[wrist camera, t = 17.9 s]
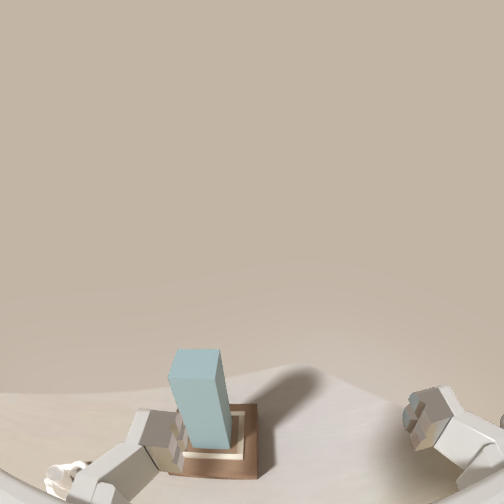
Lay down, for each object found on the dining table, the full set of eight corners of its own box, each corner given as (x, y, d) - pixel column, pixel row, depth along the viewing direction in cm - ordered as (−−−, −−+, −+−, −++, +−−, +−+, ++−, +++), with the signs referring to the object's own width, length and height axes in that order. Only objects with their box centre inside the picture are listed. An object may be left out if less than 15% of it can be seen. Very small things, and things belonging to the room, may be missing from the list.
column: (232, 421, 38) (219, 349, 33) (230, 449, 33) (214, 379, 28) (198, 421, 38) (177, 348, 33) (193, 447, 33) (167, 377, 28)
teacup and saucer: (90, 460, 32) (79, 446, 30) (101, 501, 25) (88, 489, 24) (45, 469, 28) (32, 455, 26) (51, 509, 21) (35, 496, 20)
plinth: (257, 415, 42) (256, 402, 41) (257, 479, 31) (256, 469, 30) (183, 414, 43) (178, 401, 41) (169, 474, 31) (162, 464, 30)
